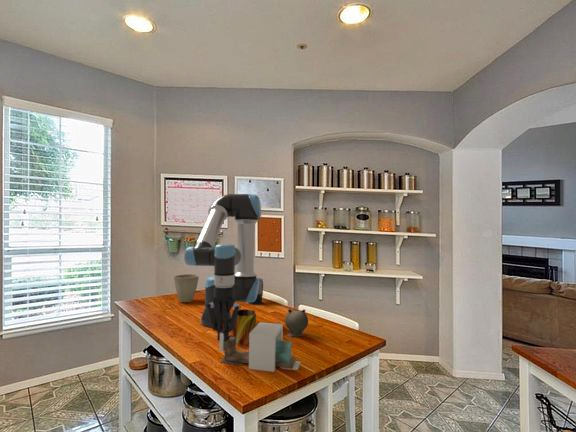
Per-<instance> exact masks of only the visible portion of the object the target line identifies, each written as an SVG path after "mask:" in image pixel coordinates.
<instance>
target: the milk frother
mask: <svg viewBox="0 0 576 432" xmlns="http://www.w3.org/2000/svg"><path fill="white" fill-rule="evenodd" d="M257 278H258V279H259V290H258V295H257V298H256V300H255V301H254V302H247V303H248V304H249V305H261V304H263V294H264V293H263V292H264V279H263V278H260V277H257Z"/></svg>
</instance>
